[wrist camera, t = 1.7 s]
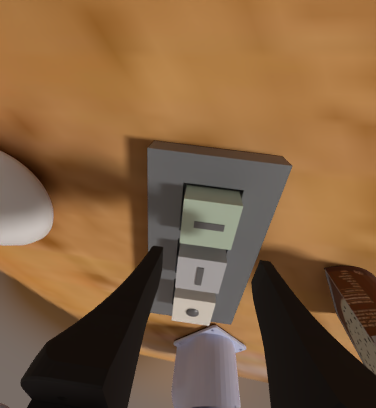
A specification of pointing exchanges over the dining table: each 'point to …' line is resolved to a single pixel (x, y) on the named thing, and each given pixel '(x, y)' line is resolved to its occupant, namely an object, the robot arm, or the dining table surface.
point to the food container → (356, 308)
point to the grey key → (200, 268)
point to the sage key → (210, 217)
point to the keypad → (220, 179)
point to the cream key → (193, 306)
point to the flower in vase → (22, 204)
